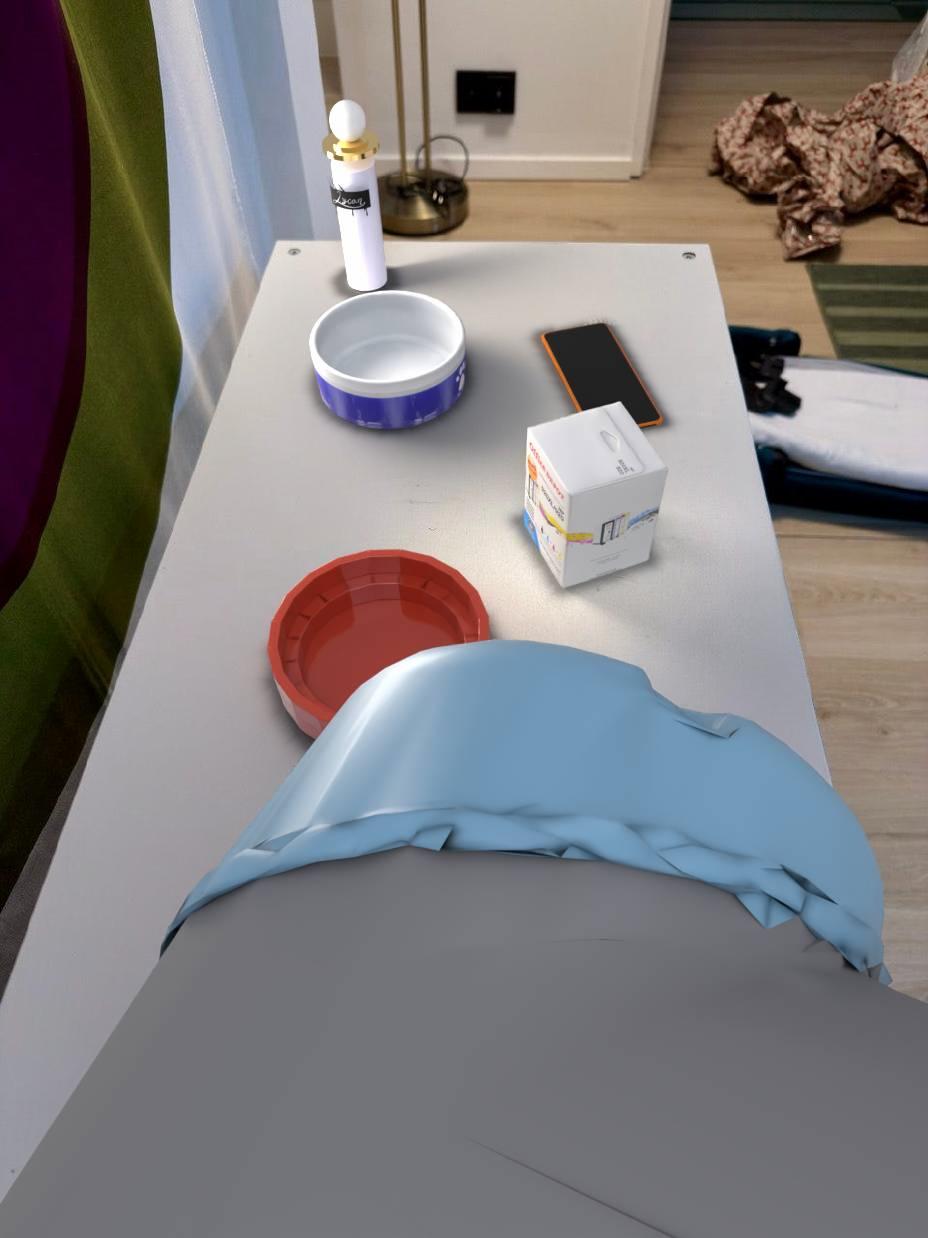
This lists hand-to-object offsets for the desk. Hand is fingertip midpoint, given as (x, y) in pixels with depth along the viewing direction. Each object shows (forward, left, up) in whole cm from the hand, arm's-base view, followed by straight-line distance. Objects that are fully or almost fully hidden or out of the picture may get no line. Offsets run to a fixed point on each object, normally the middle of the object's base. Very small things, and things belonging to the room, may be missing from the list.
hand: (379, 1224), depth 34 cm
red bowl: (+37, -8, -18) cm, 42 cm away
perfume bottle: (+89, -20, -18) cm, 93 cm away
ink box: (+44, -28, -18) cm, 55 cm away
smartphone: (+64, -38, -18) cm, 77 cm away
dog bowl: (+71, -18, -18) cm, 75 cm away
